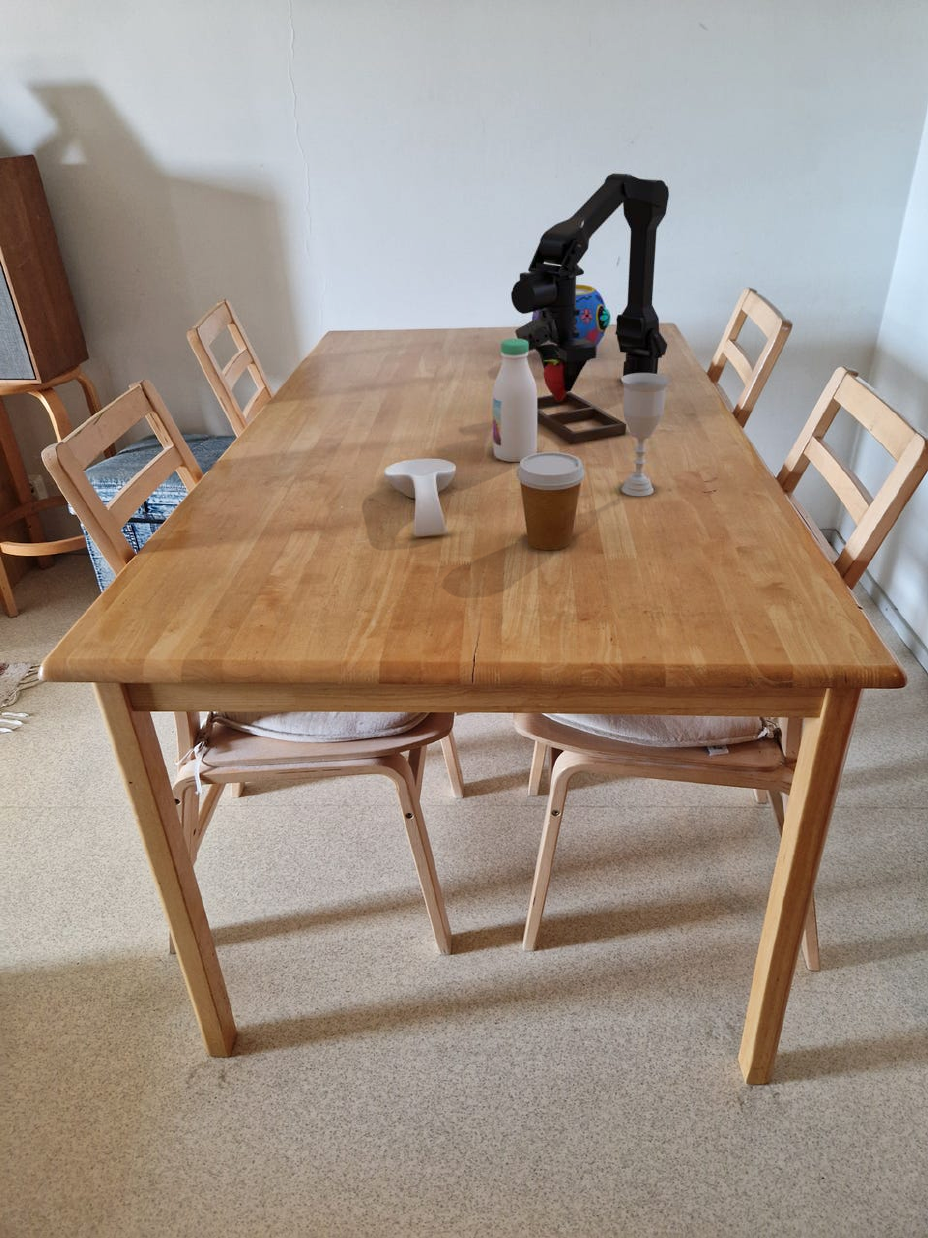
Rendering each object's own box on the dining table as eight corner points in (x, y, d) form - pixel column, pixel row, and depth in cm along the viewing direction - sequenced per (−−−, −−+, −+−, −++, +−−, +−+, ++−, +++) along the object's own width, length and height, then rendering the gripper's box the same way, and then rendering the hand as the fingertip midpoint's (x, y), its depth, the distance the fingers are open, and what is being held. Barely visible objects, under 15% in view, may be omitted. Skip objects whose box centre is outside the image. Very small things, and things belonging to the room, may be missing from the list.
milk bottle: (543, 450, 161) (544, 337, 150) (527, 465, 155) (527, 348, 145) (503, 445, 164) (502, 333, 153) (486, 459, 158) (484, 345, 147)
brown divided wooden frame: (569, 401, 184) (570, 391, 183) (625, 434, 166) (626, 423, 165) (519, 409, 180) (519, 400, 179) (571, 444, 163) (571, 433, 162)
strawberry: (546, 408, 173) (546, 356, 168) (541, 396, 179) (541, 346, 174) (576, 406, 173) (577, 354, 168) (570, 394, 180) (571, 344, 174)
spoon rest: (383, 479, 152) (380, 439, 148) (452, 474, 153) (450, 433, 149) (393, 541, 132) (389, 496, 128) (472, 534, 133) (470, 489, 129)
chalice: (663, 484, 146) (673, 374, 137) (657, 500, 141) (666, 387, 131) (618, 479, 148) (625, 371, 139) (610, 495, 143) (617, 384, 133)
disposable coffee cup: (564, 561, 124) (566, 481, 118) (504, 546, 129) (503, 468, 123) (593, 534, 131) (596, 457, 125) (535, 521, 136) (536, 446, 129)
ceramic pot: (610, 363, 206) (614, 295, 198) (533, 366, 206) (533, 298, 198) (601, 343, 221) (604, 279, 213) (529, 346, 221) (530, 282, 213)
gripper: (499, 299, 171) (501, 379, 180) (543, 319, 157) (543, 406, 165) (551, 292, 175) (550, 371, 183) (599, 311, 160) (596, 396, 168)
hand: (558, 386), depth 175 cm, fingers closed on strawberry, 7 cm apart
